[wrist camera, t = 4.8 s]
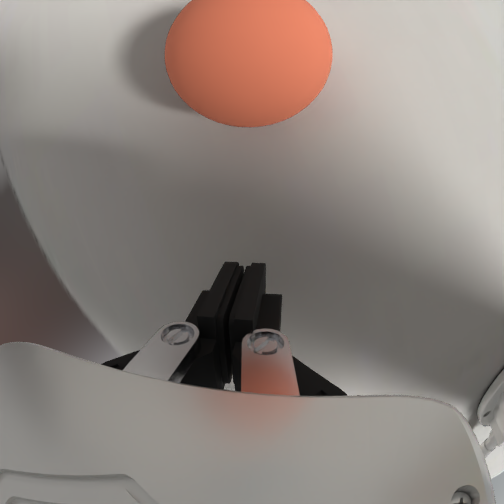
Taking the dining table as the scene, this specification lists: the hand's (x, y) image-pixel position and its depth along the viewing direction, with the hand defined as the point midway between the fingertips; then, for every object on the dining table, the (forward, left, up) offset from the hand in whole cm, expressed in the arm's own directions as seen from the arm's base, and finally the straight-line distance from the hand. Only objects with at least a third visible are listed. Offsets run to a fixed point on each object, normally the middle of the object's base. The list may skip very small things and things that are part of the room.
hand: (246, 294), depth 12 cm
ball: (+9, 0, +1) cm, 9 cm away
